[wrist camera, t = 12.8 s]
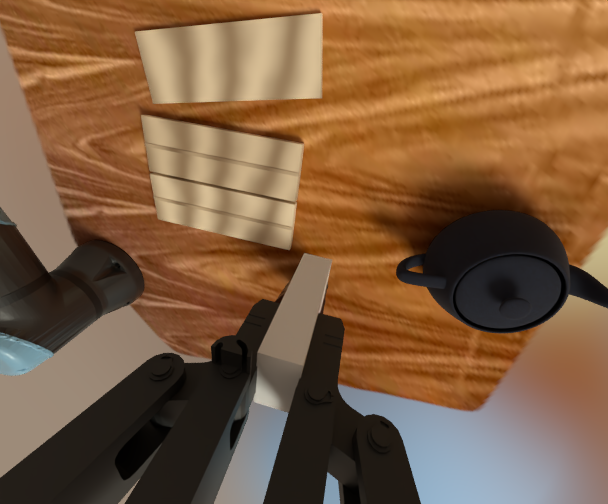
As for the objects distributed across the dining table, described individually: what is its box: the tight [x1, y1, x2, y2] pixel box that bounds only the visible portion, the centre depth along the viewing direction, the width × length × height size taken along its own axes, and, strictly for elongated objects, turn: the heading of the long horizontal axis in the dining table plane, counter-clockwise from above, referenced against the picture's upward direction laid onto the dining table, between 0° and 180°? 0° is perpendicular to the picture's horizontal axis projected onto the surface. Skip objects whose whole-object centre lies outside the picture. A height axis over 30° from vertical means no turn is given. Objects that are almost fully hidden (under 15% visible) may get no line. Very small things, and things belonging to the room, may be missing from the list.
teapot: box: [396, 210, 608, 333], centre depth 33 cm, size 25×16×12 cm, turn 91°
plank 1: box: [135, 13, 323, 104], centre depth 34 cm, size 24×8×1 cm, turn 91°
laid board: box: [141, 115, 304, 202], centre depth 40 cm, size 24×8×1 cm, turn 82°
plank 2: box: [150, 172, 297, 250], centre depth 44 cm, size 24×8×1 cm, turn 82°
